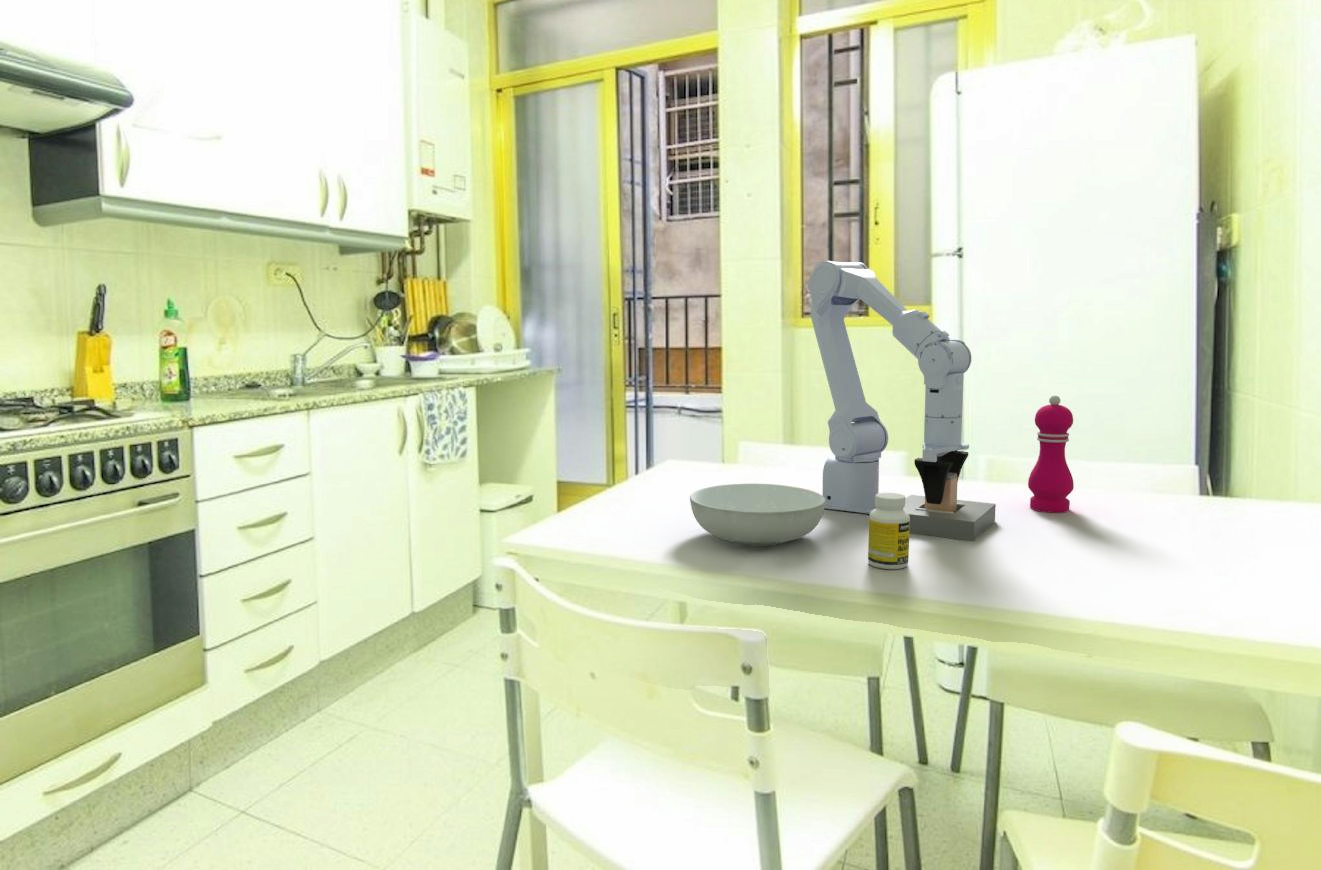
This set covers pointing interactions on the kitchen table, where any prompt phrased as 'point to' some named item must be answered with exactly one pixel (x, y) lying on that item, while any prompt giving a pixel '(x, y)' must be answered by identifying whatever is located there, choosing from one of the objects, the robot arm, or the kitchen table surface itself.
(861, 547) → the kitchen table surface
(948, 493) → the plug
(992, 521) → the socket block
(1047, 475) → the pepper mill
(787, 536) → the serving bowl
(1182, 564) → the kitchen table surface
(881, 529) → the supplement bottle
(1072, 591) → the kitchen table surface
